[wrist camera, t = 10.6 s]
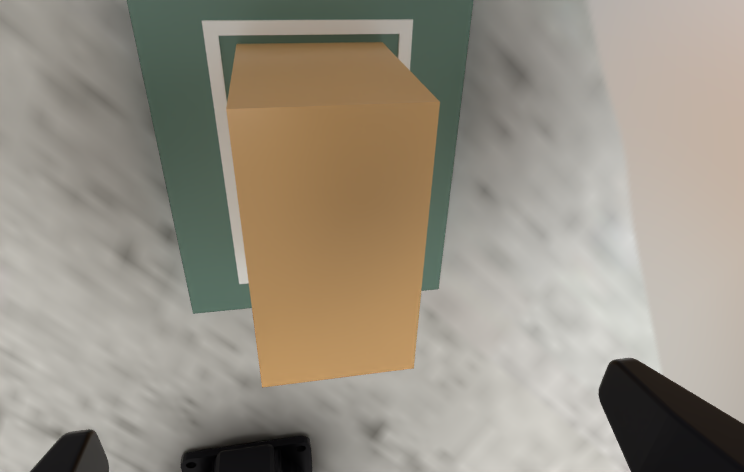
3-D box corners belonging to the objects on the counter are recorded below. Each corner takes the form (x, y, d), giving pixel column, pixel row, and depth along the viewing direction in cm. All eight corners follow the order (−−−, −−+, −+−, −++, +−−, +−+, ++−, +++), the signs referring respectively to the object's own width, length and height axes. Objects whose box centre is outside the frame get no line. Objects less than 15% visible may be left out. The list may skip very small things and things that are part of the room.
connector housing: (374, 255, 20) (413, 368, 15) (260, 264, 19) (262, 387, 14) (382, 42, 16) (439, 101, 11) (236, 43, 15) (226, 109, 10)
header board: (431, 275, 22) (462, 338, 19) (195, 297, 21) (183, 371, 17) (465, -31, 16) (519, -16, 13) (128, -35, 14) (88, -20, 11)
